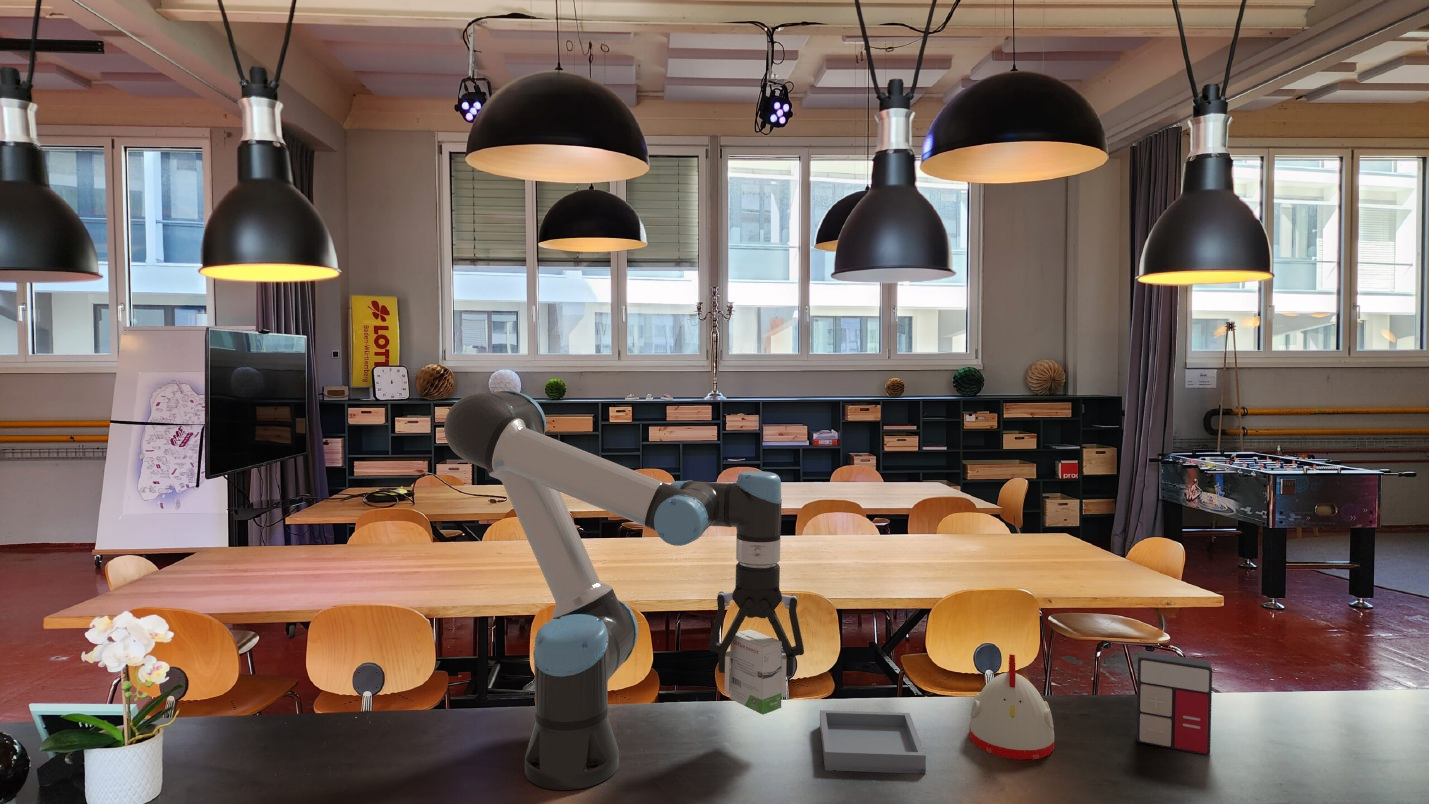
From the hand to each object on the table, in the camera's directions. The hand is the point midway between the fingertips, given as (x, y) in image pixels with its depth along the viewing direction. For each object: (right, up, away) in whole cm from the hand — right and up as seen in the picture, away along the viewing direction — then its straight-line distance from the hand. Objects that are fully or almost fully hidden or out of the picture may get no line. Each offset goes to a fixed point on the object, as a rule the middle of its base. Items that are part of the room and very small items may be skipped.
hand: (755, 691), depth 139 cm
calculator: (+72, -9, 0) cm, 72 cm away
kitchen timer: (+45, -9, +2) cm, 46 cm away
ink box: (0, -2, 0) cm, 2 cm away
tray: (+19, -9, -1) cm, 22 cm away
